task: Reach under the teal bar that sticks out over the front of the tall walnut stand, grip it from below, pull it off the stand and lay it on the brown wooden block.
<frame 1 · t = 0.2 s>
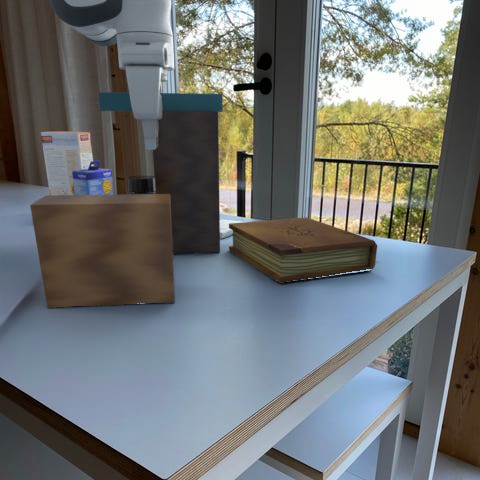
hand: (152, 148, 82), 20 cm above the table, tool pointing down, fingers open, 4 cm apart
ink bottle: (146, 228, 116), on the table
stand: (189, 248, 98), on the table
diary: (296, 261, 90), on the table
cracker box: (74, 204, 148), on the table
teal bar: (162, 111, 87), point 26 cm above the table, touching stand
ink cartridge box: (97, 217, 129), on the table
brown wooden block: (115, 296, 72), on the table
hard drive: (221, 232, 113), on the table
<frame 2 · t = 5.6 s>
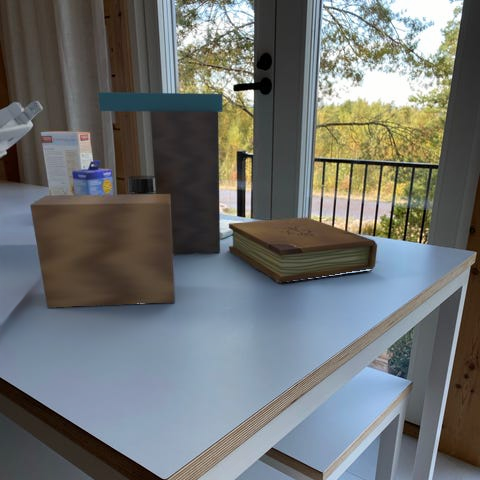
hand: (30, 105, 83), 27 cm above the table, tool pointing upward, fingers open, 8 cm apart
nothing on the table moved.
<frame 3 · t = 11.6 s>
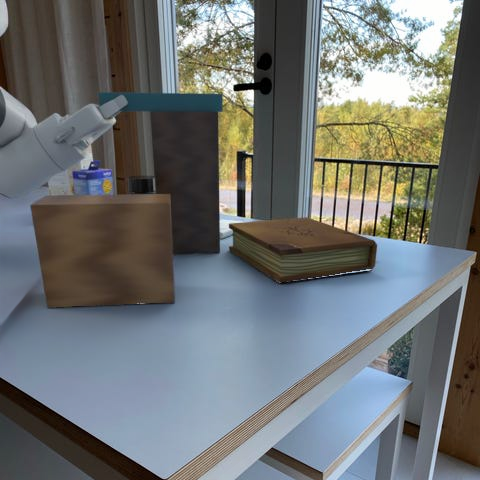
hand: (127, 99, 86), 28 cm above the table, tool pointing upward, fingers closed on teal bar, 3 cm apart
teal bar: (162, 111, 87), point 26 cm above the table, touching gripper, stand
everything else where it was.
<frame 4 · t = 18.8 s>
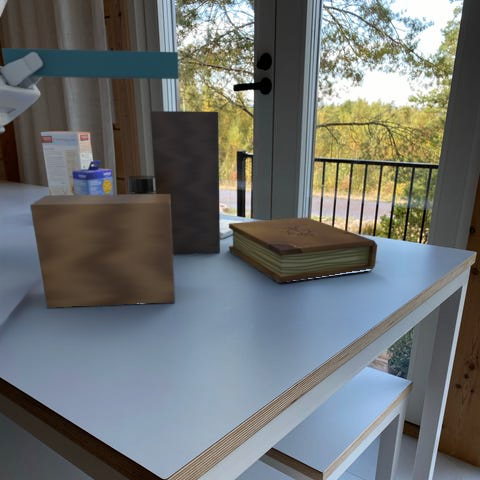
hand: (44, 59, 62), 32 cm above the table, tool pointing upward, fingers closed on teal bar, 3 cm apart
teal bar: (95, 77, 63), point 30 cm above the table, touching gripper
everything else where it was.
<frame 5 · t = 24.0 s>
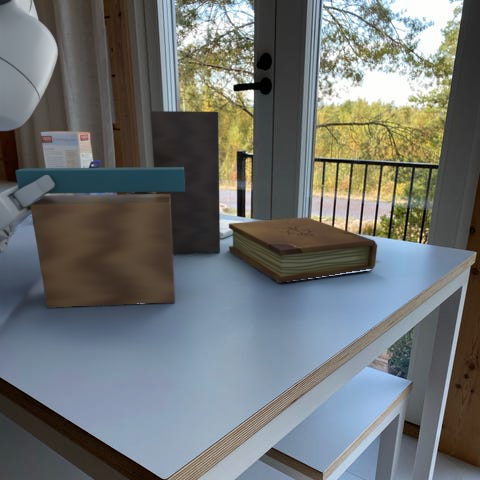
hand: (56, 177, 64), 17 cm above the table, tool pointing upward, fingers closed on teal bar, 3 cm apart
teal bar: (105, 191, 66), point 16 cm above the table, touching gripper
everything else where it was.
when the fingers open (18 cm above the table, at t = 26.2 s): teal bar drops 1 cm, resting on brown wooden block.
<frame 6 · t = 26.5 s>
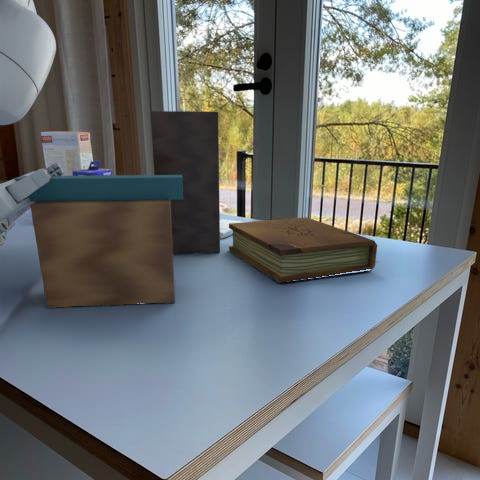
hand: (54, 170, 64), 18 cm above the table, tool pointing upward, fingers open, 6 cm apart
teal bar: (103, 199, 66), point 14 cm above the table, touching brown wooden block
everything else where it was.
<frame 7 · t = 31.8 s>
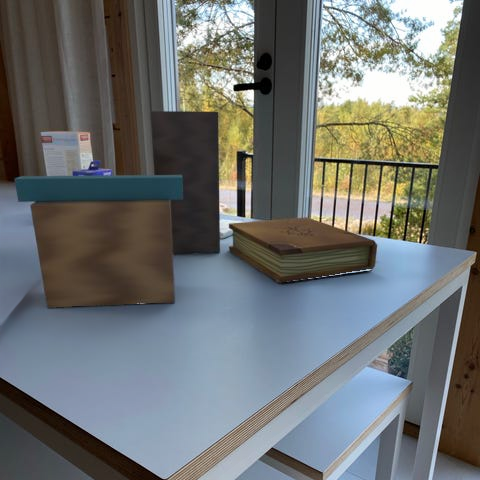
nothing on the table moved.
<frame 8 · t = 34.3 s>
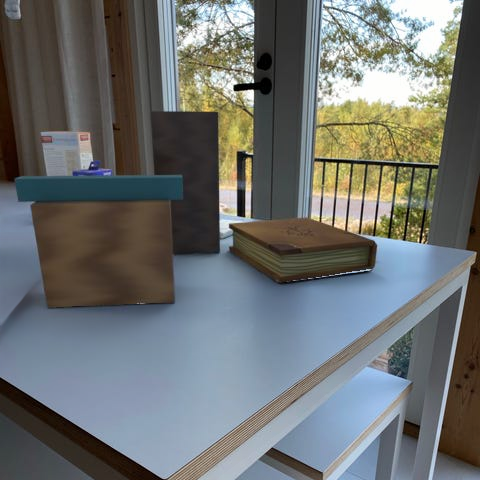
hand: (3, 11, 69), 39 cm above the table, tool pointing down, fingers open, 8 cm apart
nothing on the table moved.
at the end: teal bar inside the target area (0.2 cm from its centre), point 14.5 cm above the table; the gripper is holding nothing; teal bar tilted 0° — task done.
